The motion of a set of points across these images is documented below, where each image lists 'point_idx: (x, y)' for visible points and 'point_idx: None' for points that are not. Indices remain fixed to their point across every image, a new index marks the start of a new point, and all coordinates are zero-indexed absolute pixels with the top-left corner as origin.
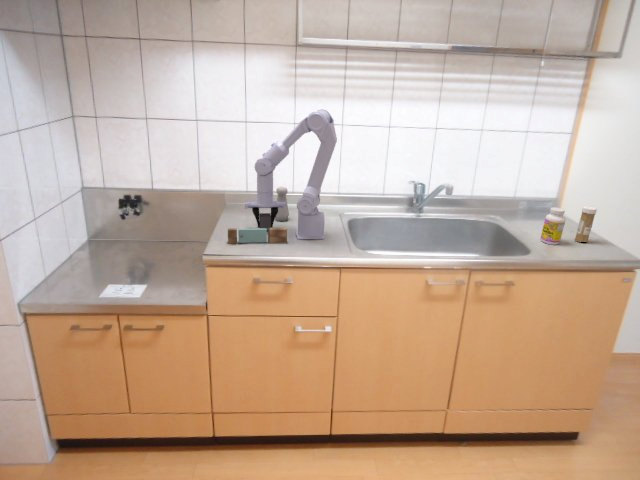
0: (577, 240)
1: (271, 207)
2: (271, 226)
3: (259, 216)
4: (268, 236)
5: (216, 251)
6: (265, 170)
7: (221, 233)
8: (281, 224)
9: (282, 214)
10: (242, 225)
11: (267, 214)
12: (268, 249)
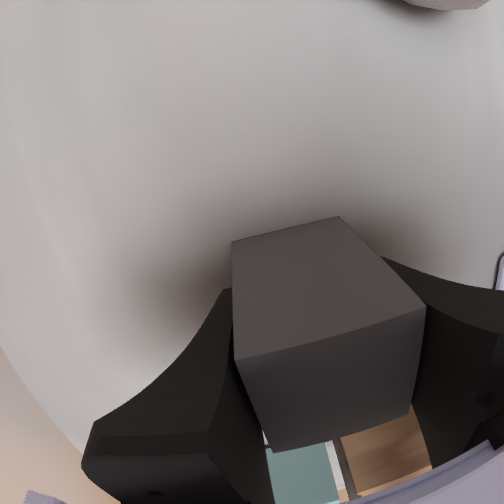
0: None
1: (477, 462)
2: None
3: (234, 328)
4: (340, 464)
5: None
6: None
7: (27, 370)
8: (423, 85)
9: (467, 3)
10: (49, 194)
11: (377, 368)
12: None
